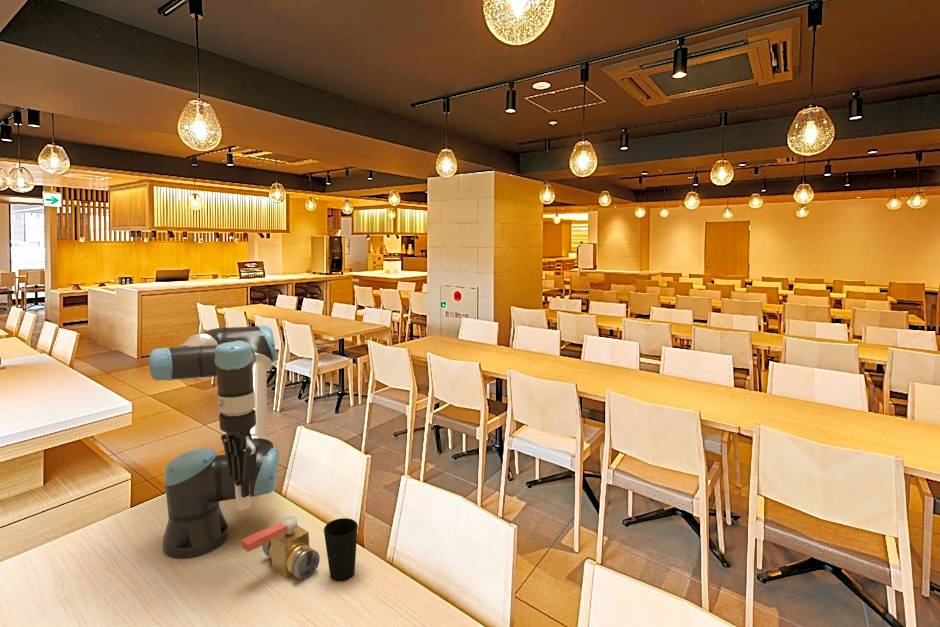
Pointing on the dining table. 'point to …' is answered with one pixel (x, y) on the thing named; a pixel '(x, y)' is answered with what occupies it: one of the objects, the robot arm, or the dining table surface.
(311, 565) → the valve body
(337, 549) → the cup
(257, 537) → the lever
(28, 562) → the dining table surface
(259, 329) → the robot arm
